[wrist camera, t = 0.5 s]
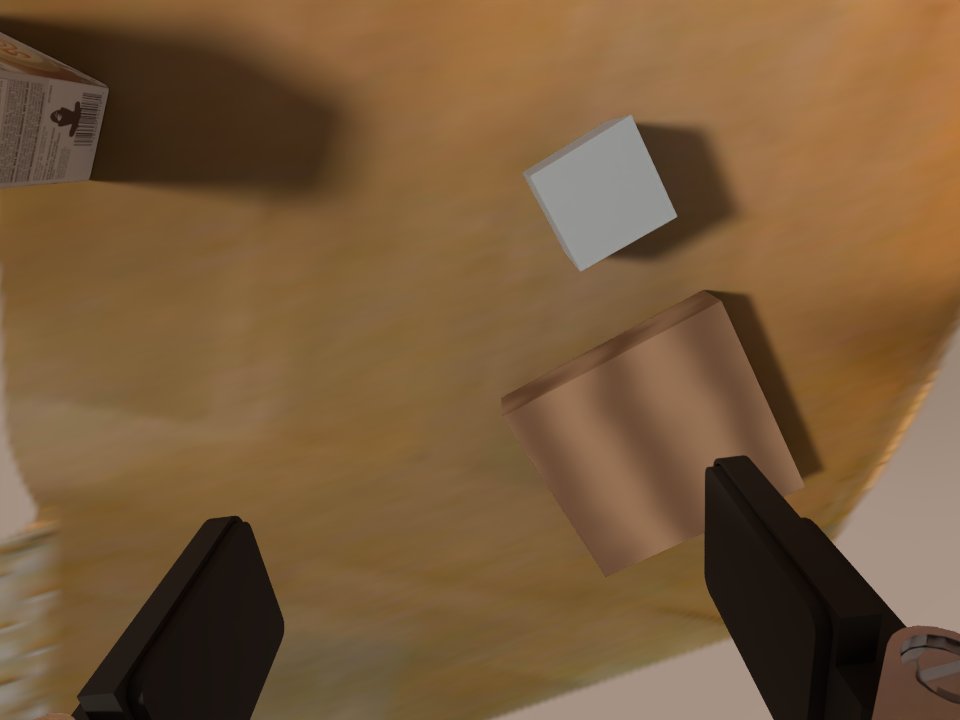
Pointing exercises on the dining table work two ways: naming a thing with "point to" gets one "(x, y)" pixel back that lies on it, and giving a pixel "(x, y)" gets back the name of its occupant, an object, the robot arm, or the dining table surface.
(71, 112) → the coffee box
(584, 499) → the walnut base
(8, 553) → the dining table surface
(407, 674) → the dining table surface
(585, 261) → the light grey cube
